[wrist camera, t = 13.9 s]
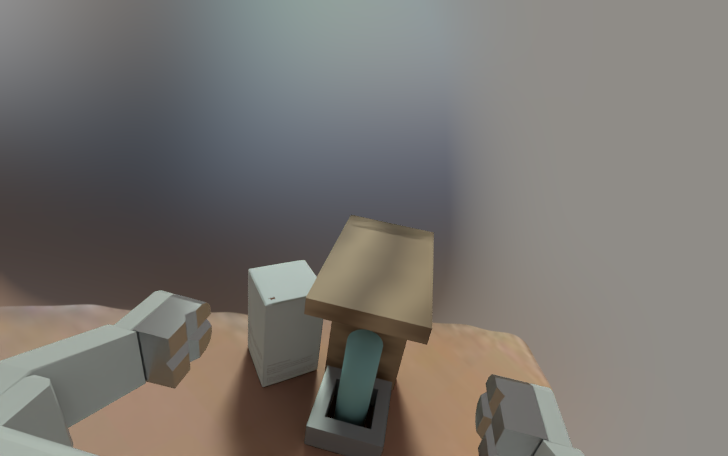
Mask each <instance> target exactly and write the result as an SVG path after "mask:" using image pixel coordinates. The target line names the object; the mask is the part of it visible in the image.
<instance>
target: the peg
mask: <svg viewBox="0 0 728 456" xmlns="http://www.w3.org/2000/svg"><path fill="white" fill-rule="evenodd" d="M382 349H383V342H382V339H381V338H380V337H379V336H378V335H377V334H376V333H374V332H372V331H370V330H365V329H360V330H355V331H353V332H352V333H350V334H349V336H348V338H347V343H346V349H345V355H344V361H343V367H342V372H341V378H340V384H339V390H338V395H337V401H336V407H335V413H334V419H335V420H339V421H343V422H346V423H350V424H354V425H357V426H361V427H364V425H365V420H366V416H367V412H368V408H369V404H370V399H371V395H372V391H373V387H374V382H375V378H376V374H377V370H378V366H379V361H380V357H381V353H382Z"/></svg>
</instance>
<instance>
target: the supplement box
mask: <svg viewBox="0 0 728 456" xmlns="http://www.w3.org/2000/svg"><path fill="white" fill-rule="evenodd" d="M316 278H317V277H316V276H315V274H314V273H313V271H312V270H311V269H310V267H309V266H308V264H307V263H306V261H305V260H300V261H294V262H288V263H282V264H276V265H270V266H265V267H259V268H253V269H249V271H248V348H249V351H250V354H251V357H252V360H253V363H254V365H255V368H256V371H257V374H258V377H259V379H260V382H261V385H262V387H265V386H268V385H271V384H274V383H278V382H281V381H284V380H287V379H290V378H293V377H296V376H299V375H302V374H305V373H308V372H311V371H314V370H316V369H317V366H318V359H319V351H320V342H321V334H322V325H323V319H322V318H318V317H314V316H310V315H306V314H304V311H305V300H306V296H307V295H308V293H309V291H310V289H311V287H312V285H313V284H314V282H315V280H316Z"/></svg>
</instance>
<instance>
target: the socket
mask: <svg viewBox="0 0 728 456" xmlns="http://www.w3.org/2000/svg"><path fill="white" fill-rule="evenodd" d="M341 372H342V369H340V368H336V367H332V366H327V369H326V372H325V374H324V377H323V380H322V383H321V386H320V389H319V391H318V394H317V397H316V400H315V403H314V406H313V408H312V411H311V414H310V417H309V420H308V422H307V425H306V432H305V441H304V444H307V445H310V446H314V447H317V448H321V449H324V450H328V451H331V452H335V453H338V454H342V455H345V456H381V454H382V451H383V447H384V440H385V432H386V425H387V418H388V410H389V403H390V396H391V388H392V382H390V381H386V380H382V379H378V378H375V382H374V387H373V391H372V395H371V399H370V404H369V405H371V406H374V409H373V415H372V420H371V426H370V429H368V428H365V427H361V426H357V425H354V424H350V423H346V422H343V421H339V420H335V419H332V418H328V417H327V416H328V413H329V409H330V406H331V403H332V400H333V396H337V395H338V390H339V384H340V378H341Z"/></svg>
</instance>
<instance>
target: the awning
mask: <svg viewBox="0 0 728 456" xmlns="http://www.w3.org/2000/svg"><path fill="white" fill-rule="evenodd" d="M433 234H434V233H433V232H428V231H423V230H419V229H414V228H410V227H405V226H400V225H396V224H391V223H386V222H382V221H377V220H373V219H368V218H363V217H359V216H354V215H351V216H350V218H349V220H348V221H347V223H346V225H345V227H344V229H343V230H342V232H341V234H340V236H339V238H338V240H337V241H336V243H335V245H334V247H333V249H332V251H331V252H330V254H329V256H328V258H327V260H326V262H325V263H324V265H323V267H322V269H321V271H320V273H319V274H318V276H317V278H316V280H315V282H314V284H313V285H312V287H311V289H310V291H309V293H308V295H307V296H306V300H305V311H304V314H306V315H310V316H314V317H318V318H322V319H326V320H330V321H332V324H331V331H330V338H329V346H328V353H327V360H326V367H325V372H326V369H327V366H332V367H336V368H340V369H342V367H343V361H344V355H345V349H346V343H347V338H348V336H349V334H350V333H352V332H353V331H355V330H360V329H365V330H370V331H372V332H374V333H376V334H377V335H378V336H379V337H380V338H381V339H382V342H383V349H382V353H381V357H380V361H379V366H378V370H377V374H376V378H378V379H382V380H386V381H390V382H392V388H391V389H392V390H393V389H394V385H395V381H396V378H397V374H398V370H399V367H400V363H401V360H402V356H403V352H404V349H405V345H406V341H407V340H410V341H414V342H418V343H422V344H427V343H428V340H429V336H430V333H431V330H432V297H433V238H434V235H433Z"/></svg>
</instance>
